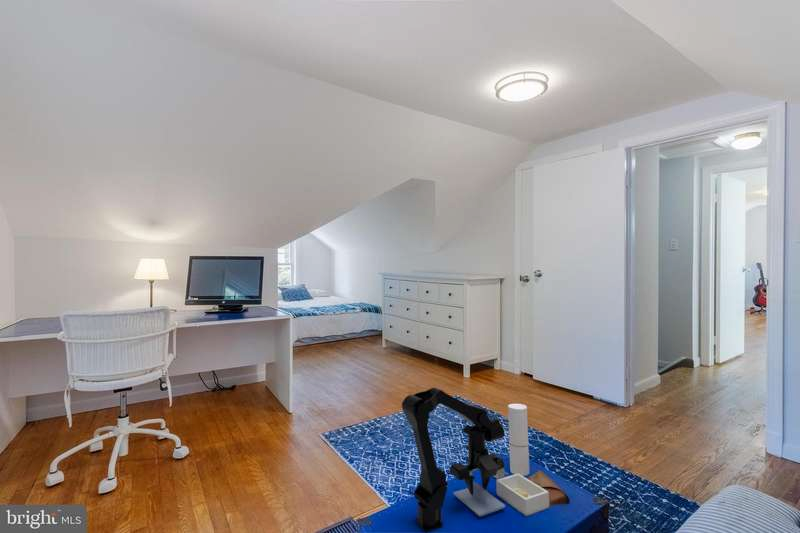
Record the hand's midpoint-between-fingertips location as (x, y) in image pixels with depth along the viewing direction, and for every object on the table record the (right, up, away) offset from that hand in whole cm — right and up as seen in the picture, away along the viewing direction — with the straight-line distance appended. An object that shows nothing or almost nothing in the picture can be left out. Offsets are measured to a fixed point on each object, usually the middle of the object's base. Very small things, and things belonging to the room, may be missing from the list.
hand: (478, 492), depth 128 cm
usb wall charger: (+12, -5, +17) cm, 22 cm away
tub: (+15, -4, +1) cm, 16 cm away
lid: (0, -4, 0) cm, 4 cm away
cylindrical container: (+21, -5, +21) cm, 30 cm away
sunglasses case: (+25, -4, +7) cm, 26 cm away
